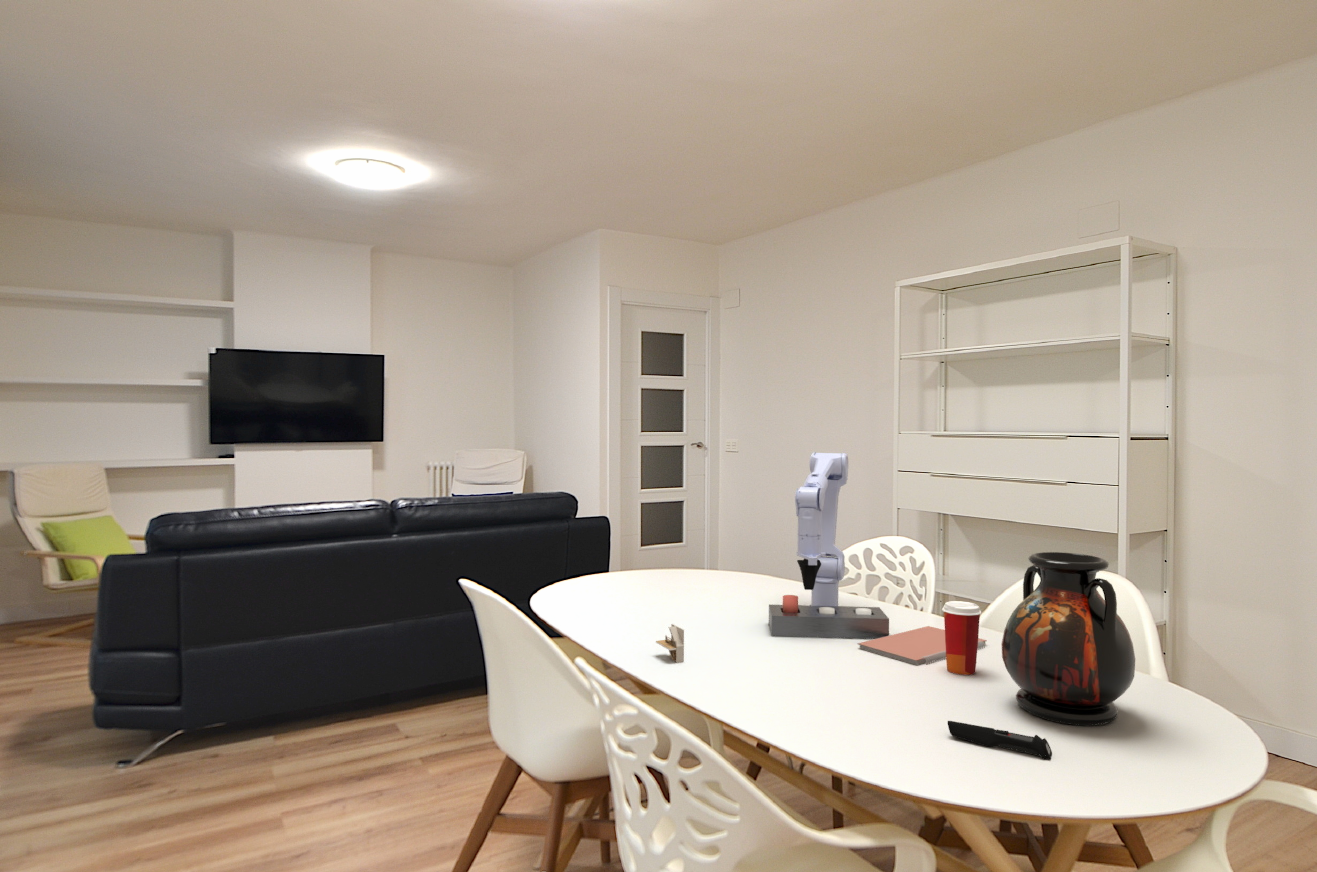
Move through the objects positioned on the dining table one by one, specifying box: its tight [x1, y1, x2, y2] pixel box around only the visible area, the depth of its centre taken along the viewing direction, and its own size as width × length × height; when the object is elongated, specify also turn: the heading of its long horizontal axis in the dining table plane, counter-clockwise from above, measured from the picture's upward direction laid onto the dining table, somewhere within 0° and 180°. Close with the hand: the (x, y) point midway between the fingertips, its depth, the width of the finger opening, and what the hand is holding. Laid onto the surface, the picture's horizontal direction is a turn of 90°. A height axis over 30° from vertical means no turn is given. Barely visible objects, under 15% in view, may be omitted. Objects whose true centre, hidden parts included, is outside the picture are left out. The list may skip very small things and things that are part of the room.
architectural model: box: [655, 623, 685, 664], centre depth 173 cm, size 3×7×7 cm, turn 27°
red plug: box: [782, 594, 799, 613], centre depth 197 cm, size 4×4×5 cm
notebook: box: [857, 625, 987, 667], centre depth 183 cm, size 27×17×2 cm, turn 126°
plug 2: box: [856, 608, 871, 615], centre depth 195 cm, size 4×4×5 cm
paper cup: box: [941, 600, 982, 676], centre depth 165 cm, size 8×8×14 cm
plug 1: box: [819, 607, 835, 614], centre depth 196 cm, size 4×4×5 cm
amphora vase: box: [1001, 551, 1136, 727], centre depth 142 cm, size 22×22×28 cm
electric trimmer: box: [947, 720, 1053, 761], centre depth 127 cm, size 4×16×3 cm, turn 58°
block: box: [768, 604, 890, 640], centre depth 196 cm, size 12×28×5 cm, turn 85°
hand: (808, 589), depth 196 cm, fingers closed
